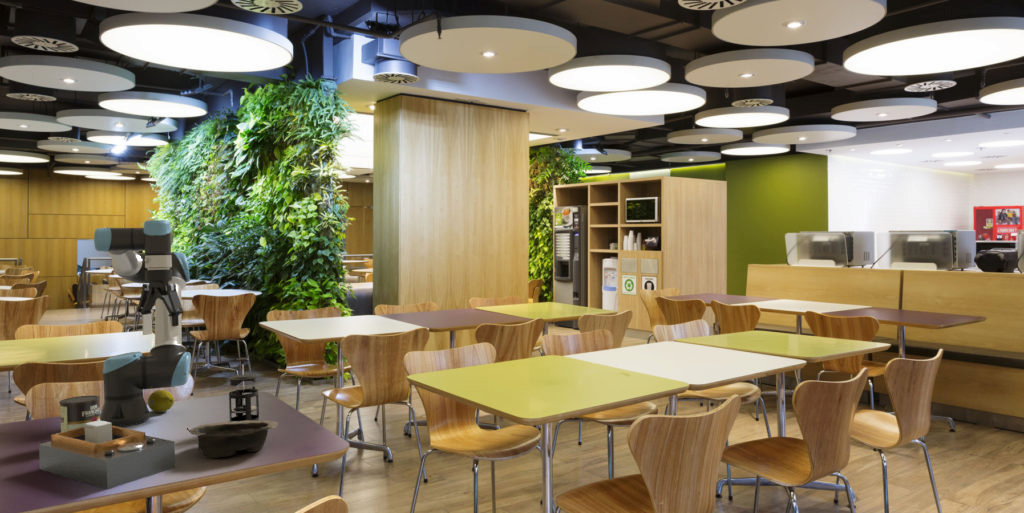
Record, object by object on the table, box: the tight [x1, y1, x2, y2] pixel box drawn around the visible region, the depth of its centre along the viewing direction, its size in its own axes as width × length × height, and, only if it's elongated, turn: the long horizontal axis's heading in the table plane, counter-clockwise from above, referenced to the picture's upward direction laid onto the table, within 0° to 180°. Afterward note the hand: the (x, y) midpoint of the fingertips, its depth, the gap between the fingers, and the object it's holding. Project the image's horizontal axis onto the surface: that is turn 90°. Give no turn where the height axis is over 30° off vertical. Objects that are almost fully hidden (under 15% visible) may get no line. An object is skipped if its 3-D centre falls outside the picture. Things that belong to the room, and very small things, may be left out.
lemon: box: [147, 389, 175, 413], centre depth 241 cm, size 11×8×8 cm
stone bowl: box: [186, 419, 279, 460], centre depth 195 cm, size 25×25×9 cm
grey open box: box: [38, 426, 176, 490], centre depth 180 cm, size 32×18×9 cm, turn 61°
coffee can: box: [59, 395, 101, 433], centre depth 202 cm, size 10×10×14 cm
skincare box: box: [85, 420, 112, 444], centre depth 181 cm, size 6×4×12 cm
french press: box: [227, 357, 260, 422], centre depth 218 cm, size 12×9×23 cm
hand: (160, 335), depth 211 cm, fingers open, 13 cm apart
